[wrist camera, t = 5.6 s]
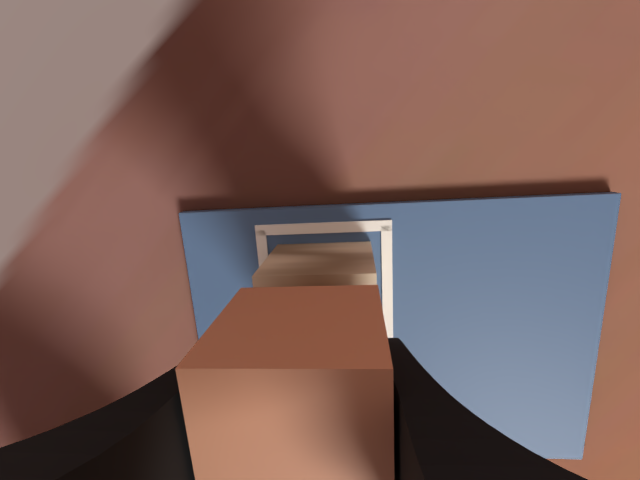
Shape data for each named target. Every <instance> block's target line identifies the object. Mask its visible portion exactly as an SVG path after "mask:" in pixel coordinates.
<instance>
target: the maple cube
mask: <svg viewBox="0 0 640 480" xmlns="http://www.w3.org/2000/svg"><path fill="white" fill-rule="evenodd" d="M252 283H253V287H296V286H342V285H377V273H376V268H375V262H374V257H373V252H372V246H371V241H365V242H336V243H306V244H277V246H276V247H275V248H274V249H273V251H272V252H271V253H270V254H269V256H268V257H267V258H266V259H265V261H264V262H263V263H262V264H261V266H260V267H259V268H258V269H257V271H256V272H255V273H254V274H253V276H252Z"/></svg>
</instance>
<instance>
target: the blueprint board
mask: <svg viewBox="0 0 640 480" xmlns="http://www.w3.org/2000/svg"><path fill="white" fill-rule="evenodd" d="M620 199H621V193H616V192H597V193H574V194H552V195H530V196H508V197H486V198H464V199H441V200H419V201H397V202H375V203H353V204H330V205H308V206H286V207H264V208H242V209H219V210H197V211H183V212H180V213H179V218H180V225H181V231H182V237H183V244H184V250H185V256H186V263H187V269H188V275H189V282H190V288H191V295H192V301H193V307H194V314H195V320H196V326H197V333H198V339H200V337H201V336H202V335H203V334H204V333H205V331H206V330H207V329H208V328H209V326H210V325H211V324H212V323H213V321H214V320H215V319H216V318H217V316H218V315H219V314H220V313H221V312H222V310H223V309H224V308H225V307H226V305H227V304H228V303H229V302H230V300H231V299H232V298H233V297H234V296H235V294H236V293H237V292H238V291H239V289H240V288H250V287H253V283H252V276H253V274H254V273H255V272H256V271H257V269H258V268H259V267H260V266H261V264H262V263H263V262H264V261H265V259H266V258H267V257H268V256H269V254H270V253H271V252H272V251H273V249H274V248H275V247H276V246H277V244H306V243H336V242H365V241H371V246H372V252H373V257H374V262H375V268H376V273H377V285H378V288H379V293H380V299H381V304H382V310H383V315H384V321H385V326H386V332H387V337H388V338H399V339H400V340H401V341H402V342H403V343H404V345H405V346H406V347H407V348H408V350H409V351H410V352H411V354H412V355H413V356H414V357H415V358H416V360H417V361H418V362H419V363H420V364H421V365H422V366H423V368H424V369H425V370H426V371H427V372H428V373H429V374H430V375H431V376H432V377H433V378H434V379H435V380H436V381H437V382H438V383H439V384H440V385H441V386H442V387H443V388H444V389H445V390H446V391H447V392H448V393H449V394H450V395H451V396H453V397H454V398H455V399H456V400H457V401H458V402H460V403H461V404H462V405H463V406H465V407H466V408H467V409H469V410H470V411H471V412H472V413H474V414H475V415H476V416H478V417H479V418H480V419H482V420H483V421H485V422H486V423H487V424H489V425H490V426H492V427H493V428H495V429H496V430H498V431H500V432H501V433H503V434H504V435H506V436H507V437H509V438H510V439H512V440H513V441H515V442H517V443H519V444H520V445H522V446H524V447H525V448H527V449H529V450H530V451H532V452H534V453H536V454H538V455H540V456H541V457H543V458H549V459H582V457H583V450H584V443H585V437H586V430H587V423H588V416H589V409H590V403H591V396H592V389H593V382H594V375H595V369H596V362H597V355H598V348H599V341H600V335H601V328H602V321H603V314H604V307H605V301H606V294H607V287H608V280H609V273H610V267H611V260H612V253H613V246H614V239H615V233H616V226H617V219H618V212H619V205H620Z"/></svg>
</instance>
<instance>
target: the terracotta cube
mask: <svg viewBox="0 0 640 480" xmlns="http://www.w3.org/2000/svg"><path fill="white" fill-rule="evenodd" d="M175 370H176V376H177V381H178V387H179V393H180V398H181V404H182V409H183V415H184V420H185V426H186V432H187V437H188V443H189V448H190V454H191V459H192V465H193V471H194V476H195V480H394V386H393V365H392V359H391V354H390V348H389V343H388V337H387V332H386V326H385V321H384V315H383V310H382V304H381V299H380V293H379V288H378V285H342V286H296V287H250V288H240V289H239V291H238V292H237V293H236V294H235V296H234V297H233V298H232V299H231V300H230V302H229V303H228V304H227V305H226V307H225V308H224V309H223V310H222V312H221V313H220V314H219V315H218V316H217V318H216V319H215V320H214V321H213V323H212V324H211V325H210V326H209V328H208V329H207V330H206V331H205V333H204V334H203V335H202V336H201V337H200V339H199V340H198V341H197V342H196V344H195V345H194V346H193V347H192V349H191V350H190V351H189V352H188V353H187V355H186V356H185V357H184V358H183V360H182V361H181V362H180V363H179V365H178V366H177V367H176V368H175Z"/></svg>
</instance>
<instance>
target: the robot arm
mask: <svg viewBox="0 0 640 480" xmlns="http://www.w3.org/2000/svg"><path fill="white" fill-rule="evenodd" d="M388 343H389V348H390V354H391V359H392V365H393V386H394V480H587V479H585V478H583V477H581V476H579V475H577V474H574V473H572V472H570V471H568V470H566V469H564V468H562V467H560V466H558V465H556V464H554V463H552V462H551V461H549V460H547V459H545V458H543V457H541V456H540V455H538V454H536V453H534V452H532V451H530V450H529V449H527V448H525V447H524V446H522V445H520V444H519V443H517V442H515V441H513V440H512V439H510V438H509V437H507V436H506V435H504V434H503V433H501V432H500V431H498V430H496V429H495V428H493V427H492V426H490V425H489V424H487V423H486V422H485V421H483V420H482V419H480V418H479V417H478V416H476V415H475V414H474V413H472V412H471V411H470V410H469V409H467V408H466V407H465V406H463V405H462V404H461V403H460V402H458V401H457V400H456V399H455V398H454V397H453V396H451V395H450V394H449V393H448V392H447V391H446V390H445V389H444V388H443V387H442V386H441V385H440V384H439V383H438V382H437V381H436V380H435V379H434V378H433V377H432V376H431V375H430V374H429V373H428V372H427V371H426V370H425V369H424V368H423V366H422V365H421V364H420V363H419V362H418V361H417V360H416V358H415V357H414V356H413V355H412V354H411V352H410V351H409V350H408V348H407V347H406V346H405V345H404V343H403V342H402V341H401V340H400V339H399V338H388ZM177 366H178V365H177ZM177 366H176V367H177ZM176 367H174V368H173V369H171V370H170V371H168V372H166V373H165V374H163V375H161V376H160V377H158V378H156V379H155V380H153V381H151V382H150V383H148V384H146V385H145V386H143V387H141V388H139V389H138V390H136V391H134V392H132V393H130V394H129V395H127V396H125V397H123V398H121V399H119V400H117V401H115V402H113V403H111V404H109V405H107V406H105V407H103V408H101V409H99V410H97V411H94V412H92V413H90V414H87V415H85V416H83V417H80V418H78V419H76V420H73V421H71V422H69V423H66V424H64V425H62V426H59V427H57V428H54V429H52V430H49V431H47V432H44V433H41V434H39V435H36V436H33V437H31V438H28V439H25V440H22V441H19V442H16V443H13V444H10V445H7V446H5V447H1V448H0V480H195V476H194V471H193V465H192V459H191V454H190V448H189V443H188V437H187V432H186V426H185V420H184V415H183V409H182V404H181V398H180V393H179V387H178V381H177V376H176V370H175V368H176Z"/></svg>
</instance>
